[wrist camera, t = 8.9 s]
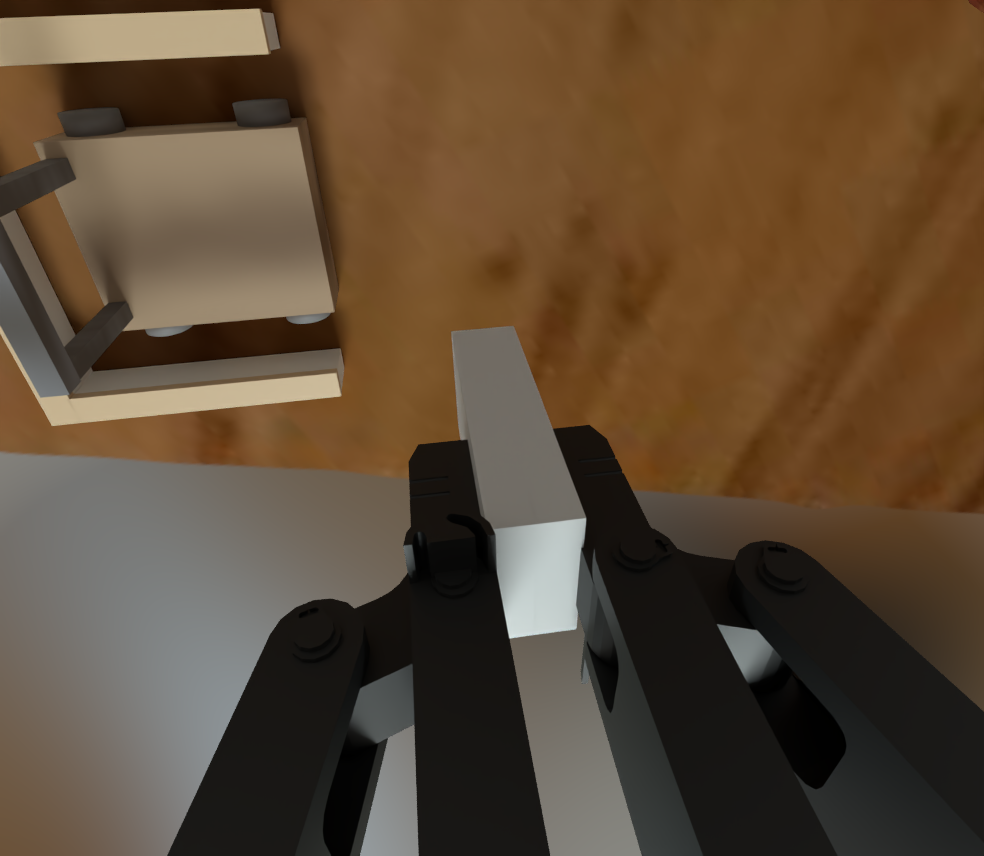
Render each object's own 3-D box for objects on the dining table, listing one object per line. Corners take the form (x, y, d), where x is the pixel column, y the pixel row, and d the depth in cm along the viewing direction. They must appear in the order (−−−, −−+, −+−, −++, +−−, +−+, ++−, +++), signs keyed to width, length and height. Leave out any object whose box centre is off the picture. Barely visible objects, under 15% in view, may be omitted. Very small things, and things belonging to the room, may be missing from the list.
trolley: (61, 109, 25) (-101, 152, 17) (302, 96, 26) (262, 131, 18) (145, 319, 30) (55, 429, 22) (341, 302, 31) (325, 401, 23)
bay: (-112, 24, 22) (-174, 24, 20) (272, 9, 24) (259, 8, 21) (77, 394, 32) (52, 425, 29) (344, 368, 33) (341, 396, 31)
